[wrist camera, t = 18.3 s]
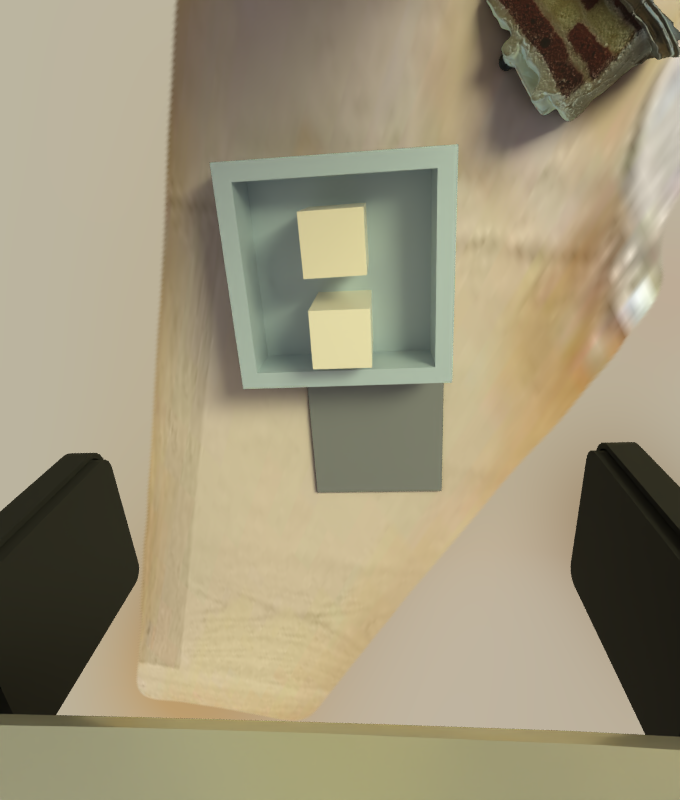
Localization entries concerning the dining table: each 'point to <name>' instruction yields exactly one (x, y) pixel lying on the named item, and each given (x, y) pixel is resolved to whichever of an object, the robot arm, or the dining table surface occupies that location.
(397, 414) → the dark mat
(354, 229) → the stone
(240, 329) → the blue bin
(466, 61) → the dining table surface
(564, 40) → the dark piece
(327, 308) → the stone
